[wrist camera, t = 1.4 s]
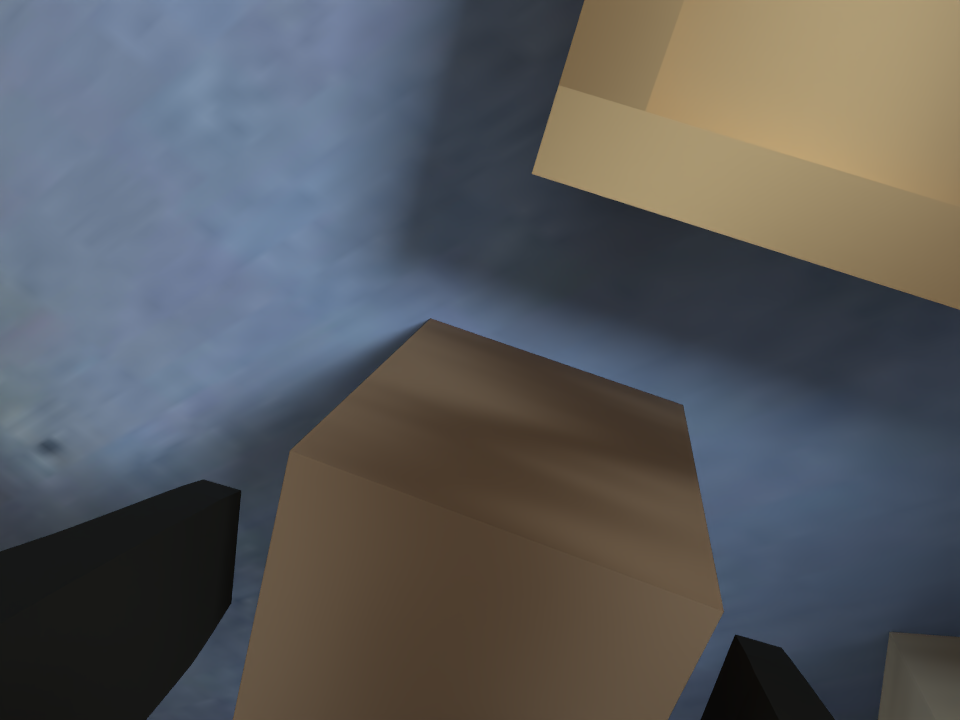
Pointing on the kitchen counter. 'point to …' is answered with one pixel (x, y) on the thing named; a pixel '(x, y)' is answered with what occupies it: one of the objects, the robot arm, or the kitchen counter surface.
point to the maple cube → (921, 678)
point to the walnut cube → (484, 548)
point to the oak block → (775, 127)
